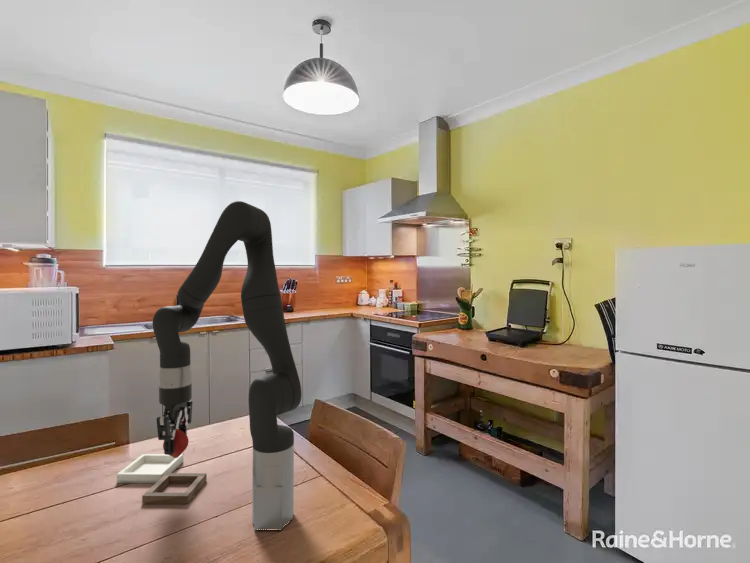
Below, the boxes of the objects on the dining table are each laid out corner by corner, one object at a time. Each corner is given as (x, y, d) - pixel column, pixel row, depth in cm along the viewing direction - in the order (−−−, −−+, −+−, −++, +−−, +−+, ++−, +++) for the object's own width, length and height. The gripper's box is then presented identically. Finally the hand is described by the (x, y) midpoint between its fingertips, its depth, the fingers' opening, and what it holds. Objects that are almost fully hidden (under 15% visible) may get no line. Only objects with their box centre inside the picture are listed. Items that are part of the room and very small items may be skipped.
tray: (161, 483, 105) (161, 474, 105) (116, 483, 105) (116, 474, 105) (183, 462, 117) (183, 454, 117) (143, 461, 117) (143, 453, 117)
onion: (158, 459, 99) (157, 428, 99) (178, 451, 104) (178, 421, 104) (173, 464, 97) (172, 432, 96) (193, 455, 102) (193, 424, 102)
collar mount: (187, 504, 95) (187, 496, 95) (142, 503, 95) (142, 495, 95) (206, 480, 106) (206, 473, 106) (166, 480, 106) (166, 473, 106)
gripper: (176, 391, 93) (176, 461, 93) (202, 376, 108) (202, 437, 108) (144, 391, 93) (145, 461, 93) (174, 376, 108) (175, 437, 108)
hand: (175, 448), depth 100 cm, fingers closed on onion, 6 cm apart
